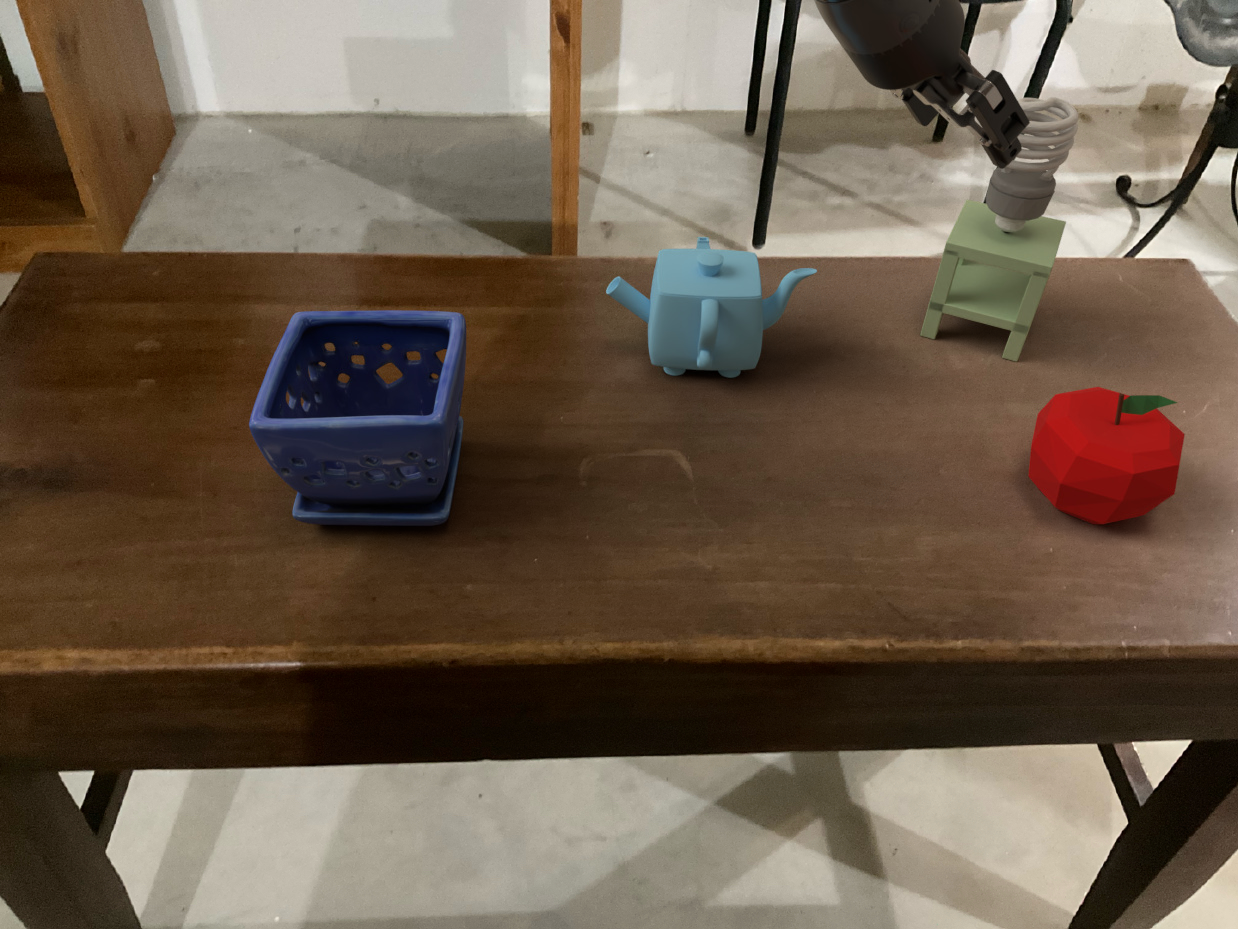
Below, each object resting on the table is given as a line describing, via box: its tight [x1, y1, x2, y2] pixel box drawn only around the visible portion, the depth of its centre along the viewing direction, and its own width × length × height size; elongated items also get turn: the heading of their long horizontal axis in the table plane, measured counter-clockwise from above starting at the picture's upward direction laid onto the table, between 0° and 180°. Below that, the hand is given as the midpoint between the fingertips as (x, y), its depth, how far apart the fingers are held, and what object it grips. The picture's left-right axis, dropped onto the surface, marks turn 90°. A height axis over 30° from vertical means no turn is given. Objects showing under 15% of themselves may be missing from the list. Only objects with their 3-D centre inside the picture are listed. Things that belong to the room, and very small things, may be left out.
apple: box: [1027, 386, 1186, 525], centre depth 72 cm, size 11×11×10 cm
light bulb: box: [985, 96, 1079, 233], centre depth 81 cm, size 6×6×12 cm
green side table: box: [919, 199, 1067, 363], centre depth 89 cm, size 9×9×10 cm
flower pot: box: [248, 309, 467, 527], centre depth 70 cm, size 13×13×12 cm
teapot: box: [605, 236, 818, 379], centre depth 85 cm, size 18×14×10 cm
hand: (968, 135), depth 75 cm, fingers open, 8 cm apart
